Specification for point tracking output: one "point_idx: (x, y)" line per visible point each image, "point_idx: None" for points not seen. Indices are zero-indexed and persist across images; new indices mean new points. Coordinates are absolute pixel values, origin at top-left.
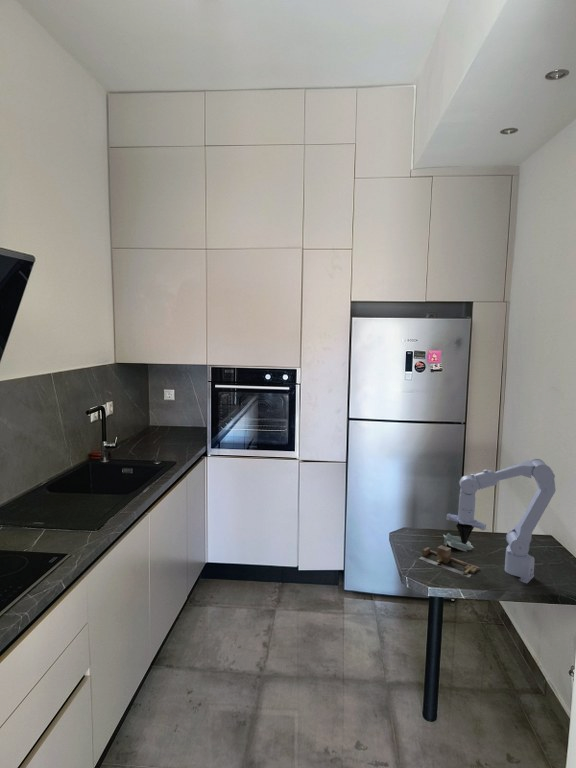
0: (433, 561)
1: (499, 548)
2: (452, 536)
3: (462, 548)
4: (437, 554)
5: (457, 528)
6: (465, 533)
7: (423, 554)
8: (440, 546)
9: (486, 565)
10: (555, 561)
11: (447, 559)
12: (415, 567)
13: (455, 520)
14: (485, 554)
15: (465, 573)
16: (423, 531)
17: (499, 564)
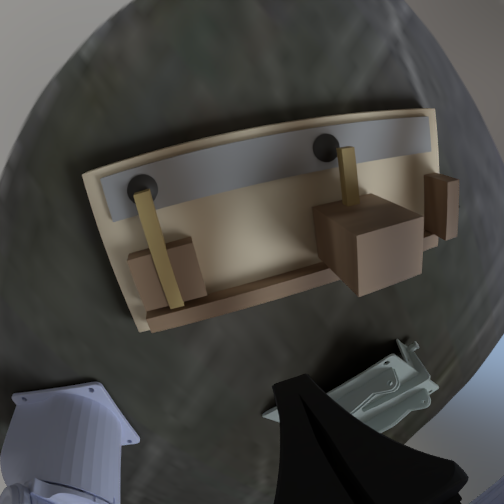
0: (370, 155)
1: (265, 484)
2: (409, 409)
3: (343, 397)
4: (389, 202)
5: (430, 455)
6: (303, 479)
7: (437, 175)
8: (417, 250)
9: (196, 395)
10: None
11: (323, 225)
12: (389, 50)
13: (494, 497)
14: (266, 441)
15: (137, 191)
16: (480, 354)
17: (178, 434)
